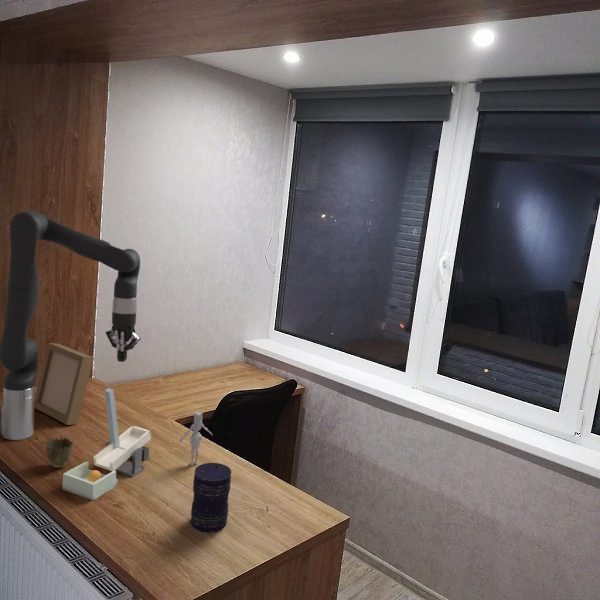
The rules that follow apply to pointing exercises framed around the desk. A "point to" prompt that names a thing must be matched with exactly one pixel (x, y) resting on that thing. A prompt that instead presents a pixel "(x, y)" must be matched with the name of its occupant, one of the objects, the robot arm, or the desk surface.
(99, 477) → the ball
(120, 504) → the desk surface
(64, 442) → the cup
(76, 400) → the photo frame
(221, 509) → the dark blue ridged cylinder
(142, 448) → the stand
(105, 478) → the tray
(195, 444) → the human figurine
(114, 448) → the lever
